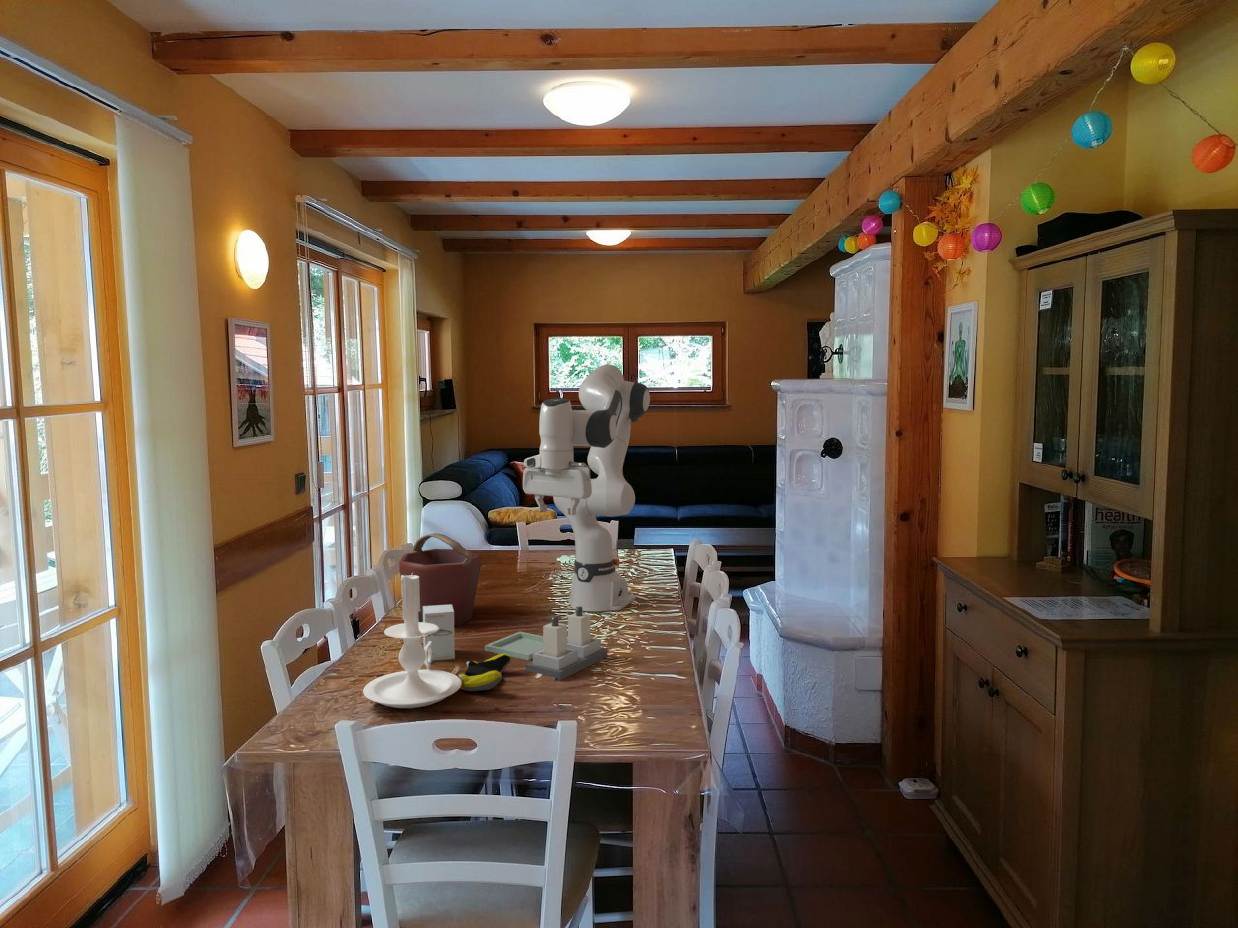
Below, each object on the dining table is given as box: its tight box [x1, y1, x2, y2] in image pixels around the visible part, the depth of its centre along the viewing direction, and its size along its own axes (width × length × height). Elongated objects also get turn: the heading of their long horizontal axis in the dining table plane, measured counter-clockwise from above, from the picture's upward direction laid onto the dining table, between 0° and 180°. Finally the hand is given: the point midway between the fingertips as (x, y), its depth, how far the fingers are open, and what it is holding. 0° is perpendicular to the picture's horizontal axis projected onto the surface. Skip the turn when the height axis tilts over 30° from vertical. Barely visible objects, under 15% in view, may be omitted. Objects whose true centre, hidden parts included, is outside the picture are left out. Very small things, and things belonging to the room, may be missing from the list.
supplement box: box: [422, 604, 456, 663], centre depth 208 cm, size 7×7×13 cm
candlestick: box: [362, 572, 462, 709], centre depth 182 cm, size 21×25×28 cm
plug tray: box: [484, 631, 543, 661], centre depth 214 cm, size 14×14×2 cm
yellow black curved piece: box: [458, 653, 511, 692], centre depth 190 cm, size 15×6×10 cm
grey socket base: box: [525, 615, 608, 682], centre depth 203 cm, size 20×10×13 cm, turn 148°
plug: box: [567, 607, 592, 646], centre depth 207 cm, size 4×4×11 cm
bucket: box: [398, 532, 482, 627], centre depth 239 cm, size 24×22×25 cm
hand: (557, 513), depth 220 cm, fingers open, 8 cm apart
